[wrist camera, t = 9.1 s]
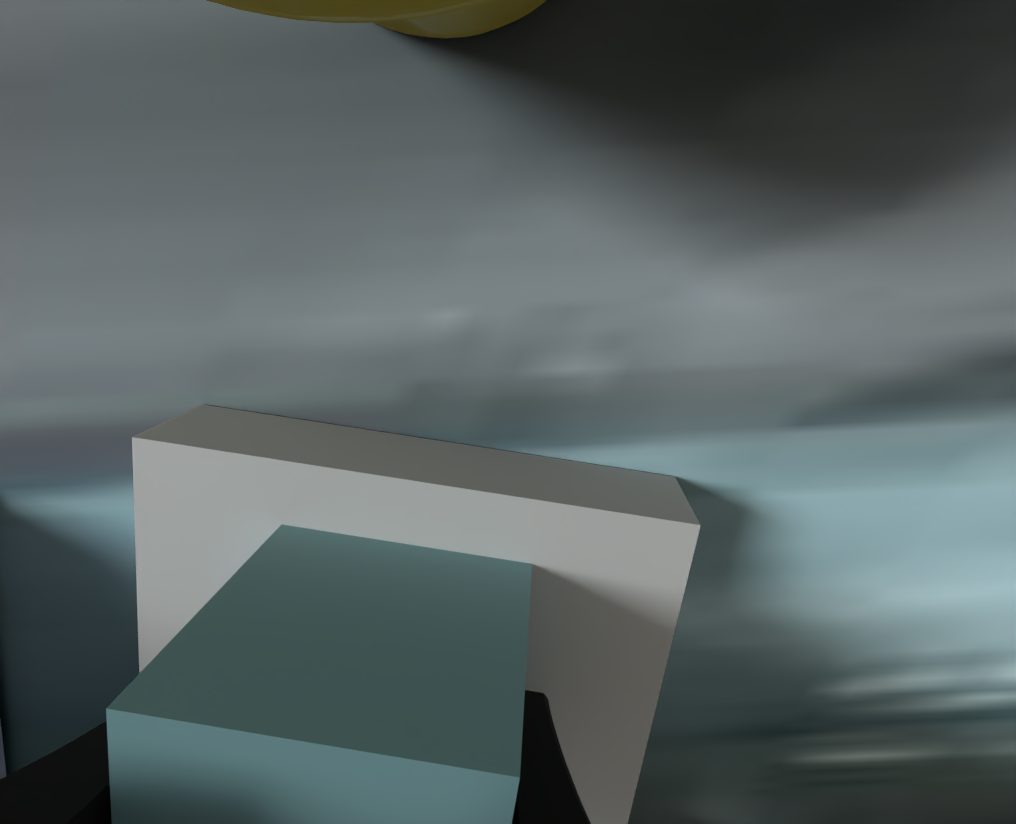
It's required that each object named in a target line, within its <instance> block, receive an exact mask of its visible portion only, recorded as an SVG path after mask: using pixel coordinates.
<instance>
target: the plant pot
mask: <svg viewBox="0 0 1016 824" xmlns="http://www.w3.org/2000/svg"><path fill="white" fill-rule="evenodd" d="M208 1H211V2H215V3H218V4H222V5H225V6H229V7H232V8H236V9H239V10H245V11H250V12H255V13H260V14H265V15H270V16H276V17H283V18H289V19H296V20H307V21H320V22H334V23H368V22H373V23H375V24H377V25H380V26H382V27H385V28H387V29H390V30H394V31H397V32H401V33H405V34H410V35H416V36H423V37H432V38H460V37H468V36H474V35H479V34H483V33H486V32H489V31H491V30H494V29H497V28H500V27H503V26H505V25H507V24H509V23H511V22H514V21H516V20H518V19H520V18H522V17H523V16H525V15H527V14H529V13H530V12H532V11H533V10H535V9H536V8H537V7H539V6H540V5H542V4H543V3H544V2H545V1H546V0H208Z"/></svg>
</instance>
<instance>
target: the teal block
mask: <svg viewBox="0 0 1016 824" xmlns="http://www.w3.org/2000/svg"><path fill="white" fill-rule="evenodd" d="M531 574H532V564H530V563H524V562H518V561H511V560H505V559H499V558H492V557H486V556H479V555H473V554H467V553H460V552H454V551H448V550H441V549H435V548H429V547H422V546H416V545H410V544H403V543H397V542H390V541H384V540H378V539H371V538H365V537H359V536H352V535H346V534H340V533H333V532H327V531H321V530H314V529H308V528H301V527H295V526H289V525H282V524H281V525H280V526H279V527H278V529H277V530H276V531H275V532H274V533H273V534H272V535H271V536H270V537H269V538H268V539H267V540H266V541H265V542H264V543H263V544H262V545H261V546H260V547H259V548H258V550H257V551H256V552H255V553H254V554H253V555H252V556H251V557H250V558H249V559H248V560H247V561H246V562H245V563H244V564H243V565H242V566H241V567H240V568H239V569H238V571H237V572H236V573H235V574H234V575H233V576H232V577H231V578H230V579H229V580H228V581H227V582H226V583H225V584H224V585H223V586H222V587H221V588H220V589H219V590H218V591H217V593H216V594H215V595H214V596H213V597H212V598H211V599H210V600H209V601H208V602H207V603H206V604H205V605H204V606H203V607H202V608H201V609H200V610H199V611H198V612H197V614H196V615H195V616H194V617H193V618H192V619H191V620H190V621H189V622H188V623H187V624H186V625H185V626H184V627H183V628H182V629H181V630H180V631H179V632H178V633H177V635H176V636H175V637H174V638H173V639H172V640H171V641H170V642H169V643H168V644H167V645H166V646H165V647H164V648H163V649H162V650H161V651H160V652H159V653H158V654H157V656H156V657H155V658H154V659H153V660H152V661H151V662H150V663H149V664H148V665H147V666H146V667H145V668H144V669H143V670H142V671H141V672H140V673H139V674H138V675H137V677H136V678H135V679H134V680H133V681H132V682H131V683H130V684H129V685H128V686H127V687H126V688H125V689H124V690H123V691H122V692H121V693H120V694H119V695H118V696H117V698H116V699H115V700H114V701H113V702H112V703H111V704H110V705H109V706H108V707H107V708H106V719H107V739H108V759H109V780H110V800H111V820H112V824H512V819H513V814H514V808H515V802H516V797H517V791H518V786H519V780H520V767H521V750H522V732H523V715H524V697H525V680H526V662H527V644H528V627H529V609H530V592H531Z"/></svg>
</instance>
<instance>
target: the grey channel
mask: <svg viewBox="0 0 1016 824" xmlns="http://www.w3.org/2000/svg"><path fill="white" fill-rule="evenodd" d="M132 450H133V483H134V516H135V549H136V582H137V615H138V648H139V673H140V672H141V671H142V670H143V669H144V668H145V667H146V666H147V665H148V664H149V663H150V662H151V661H152V660H153V659H154V658H155V657H156V656H157V654H158V653H159V652H160V651H161V650H162V649H163V648H164V647H165V646H166V645H167V644H168V643H169V642H170V641H171V640H172V639H173V638H174V637H175V636H176V635H177V633H178V632H179V631H180V630H181V629H182V628H183V627H184V626H185V625H186V624H187V623H188V622H189V621H190V620H191V619H192V618H193V617H194V616H195V615H196V614H197V612H198V611H199V610H200V609H201V608H202V607H203V606H204V605H205V604H206V603H207V602H208V601H209V600H210V599H211V598H212V597H213V596H214V595H215V594H216V593H217V591H218V590H219V589H220V588H221V587H222V586H223V585H224V584H225V583H226V582H227V581H228V580H229V579H230V578H231V577H232V576H233V575H234V574H235V573H236V572H237V571H238V569H239V568H240V567H241V566H242V565H243V564H244V563H245V562H246V561H247V560H248V559H249V558H250V557H251V556H252V555H253V554H254V553H255V552H256V551H257V550H258V548H259V547H260V546H261V545H262V544H263V543H264V542H265V541H266V540H267V539H268V538H269V537H270V536H271V535H272V534H273V533H274V532H275V531H276V530H277V529H278V527H279V526H280V525H281V524H282V525H289V526H295V527H301V528H308V529H314V530H321V531H327V532H333V533H340V534H346V535H352V536H359V537H365V538H371V539H378V540H384V541H390V542H397V543H403V544H410V545H416V546H422V547H429V548H435V549H441V550H448V551H454V552H460V553H467V554H473V555H479V556H486V557H492V558H499V559H505V560H511V561H518V562H524V563H530V564H532V574H531V592H530V609H529V627H528V644H527V662H526V680H525V690H529V691H535V692H541V693H544V694H545V695H546V697H547V698H548V701H549V707H550V711H551V715H552V719H553V723H554V727H555V730H556V734H557V737H558V740H559V743H560V746H561V750H562V753H563V755H564V758H565V761H566V764H567V767H568V769H569V772H570V774H571V777H572V780H573V782H574V785H575V787H576V790H577V793H578V795H579V797H580V800H581V802H582V805H583V807H584V809H585V812H586V814H587V816H588V818H589V820H590V823H591V824H628V820H629V816H630V812H631V808H632V804H633V800H634V795H635V791H636V787H637V783H638V779H639V775H640V771H641V767H642V763H643V759H644V755H645V751H646V747H647V742H648V738H649V734H650V730H651V726H652V722H653V718H654V714H655V710H656V706H657V702H658V698H659V694H660V689H661V685H662V681H663V677H664V673H665V669H666V665H667V661H668V657H669V653H670V649H671V645H672V641H673V636H674V632H675V628H676V624H677V620H678V616H679V612H680V608H681V604H682V600H683V596H684V592H685V588H686V583H687V579H688V575H689V571H690V567H691V563H692V559H693V555H694V551H695V547H696V543H697V539H698V535H699V530H700V526H701V525H700V523H699V521H698V519H697V517H696V515H695V513H694V512H693V510H692V508H691V506H690V504H689V502H688V500H687V498H686V496H685V495H684V493H683V491H682V489H681V487H680V485H679V483H678V481H677V480H676V478H675V477H674V476H667V475H661V474H654V473H648V472H641V471H635V470H628V469H622V468H615V467H609V466H602V465H595V464H589V463H582V462H576V461H569V460H563V459H556V458H550V457H543V456H537V455H530V454H524V453H517V452H510V451H504V450H497V449H491V448H484V447H478V446H471V445H465V444H458V443H452V442H445V441H439V440H432V439H425V438H419V437H412V436H406V435H399V434H393V433H386V432H380V431H373V430H367V429H360V428H354V427H347V426H340V425H334V424H327V423H321V422H314V421H308V420H301V419H295V418H288V417H282V416H275V415H268V414H262V413H255V412H249V411H242V410H236V409H229V408H223V407H216V406H210V405H203V404H202V405H200V406H198V407H196V408H194V409H191V410H189V411H187V412H185V413H183V414H181V415H179V416H176V417H174V418H172V419H170V420H168V421H166V422H164V423H161V424H159V425H157V426H155V427H153V428H151V429H149V430H146V431H144V432H142V433H140V434H138V435H136V436H134V437H132Z"/></svg>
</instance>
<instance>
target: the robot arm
mask: <svg viewBox="0 0 1016 824" xmlns="http://www.w3.org/2000/svg"><path fill="white" fill-rule="evenodd" d="M0 824H112V820H111V800H110V780H109V759H108V739H107V721H106V722H104V723H102V724H101V725H99V726H97V727H96V728H94V729H92V730H91V731H89V732H87V733H86V734H84V735H82V736H81V737H79V738H77V739H76V740H74V741H72V742H70V743H69V744H67V745H65V746H63V747H62V748H60V749H58V750H56V751H54V752H52V753H51V754H49V755H47V756H45V757H43V758H41V759H39V760H37V761H35V762H33V763H31V764H30V765H28V766H26V767H24V768H22V769H20V770H18V771H16V772H14V773H12V774H10V775H8V776H6V767H5V758H4V748H3V739H2V729H1V720H0ZM512 824H591V823H590V820H589V818H588V816H587V814H586V812H585V809H584V807H583V805H582V802H581V800H580V797H579V795H578V793H577V790H576V787H575V785H574V782H573V780H572V777H571V774H570V772H569V769H568V767H567V764H566V761H565V758H564V755H563V753H562V750H561V746H560V743H559V740H558V737H557V734H556V730H555V727H554V723H553V719H552V715H551V711H550V707H549V701H548V698H547V697H546V695H545V694H544V693H541V692H535V691H529V690H525V697H524V715H523V732H522V750H521V767H520V780H519V786H518V791H517V797H516V802H515V808H514V814H513V819H512Z"/></svg>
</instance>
